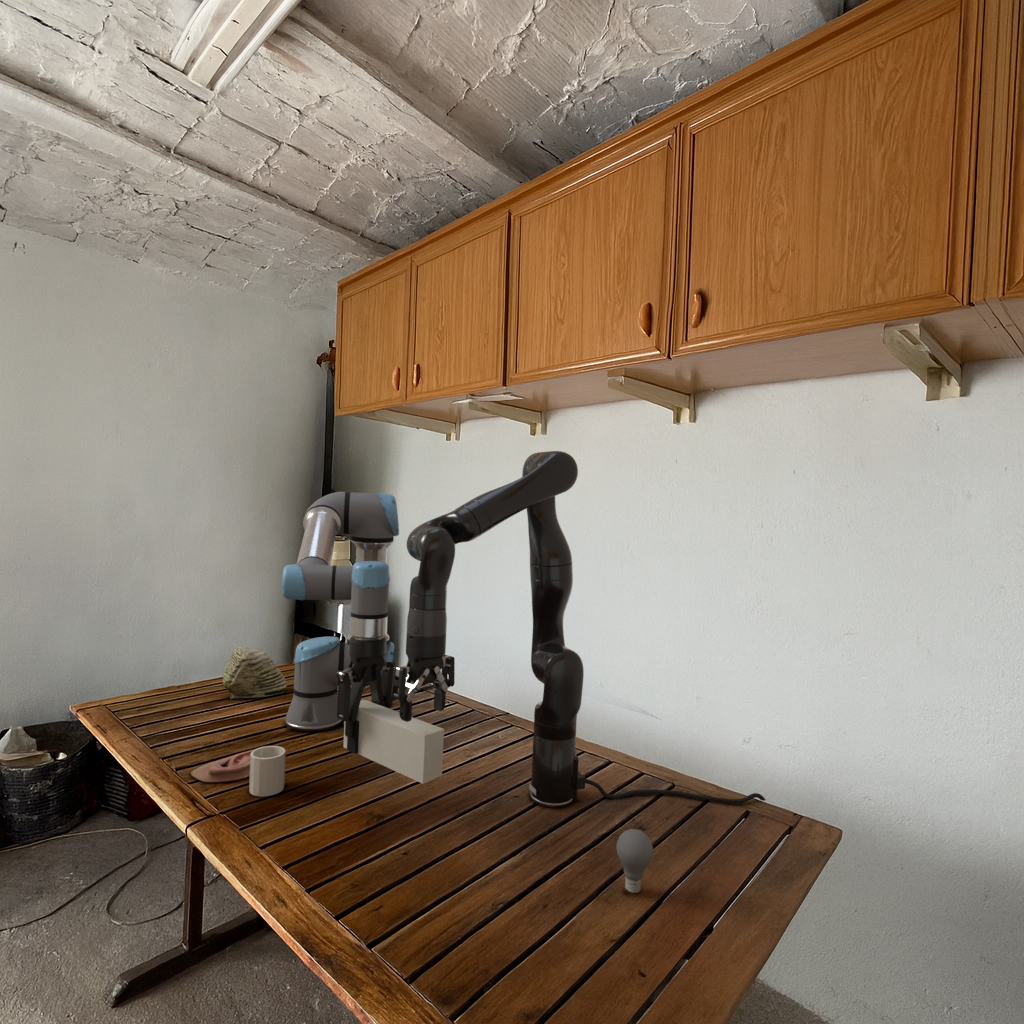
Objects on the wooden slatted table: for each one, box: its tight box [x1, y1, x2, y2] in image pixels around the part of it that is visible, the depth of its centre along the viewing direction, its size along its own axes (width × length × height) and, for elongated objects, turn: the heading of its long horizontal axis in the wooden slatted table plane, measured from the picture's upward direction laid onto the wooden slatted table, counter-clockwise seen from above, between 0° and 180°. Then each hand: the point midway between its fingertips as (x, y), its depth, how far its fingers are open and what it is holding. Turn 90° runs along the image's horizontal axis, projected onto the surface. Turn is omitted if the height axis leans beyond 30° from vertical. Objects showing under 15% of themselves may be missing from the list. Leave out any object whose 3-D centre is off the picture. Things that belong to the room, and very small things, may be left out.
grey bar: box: [343, 699, 445, 785], centre depth 126 cm, size 24×5×9 cm, turn 51°
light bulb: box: [615, 828, 654, 894], centre depth 106 cm, size 6×6×10 cm
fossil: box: [222, 646, 288, 699], centre depth 198 cm, size 9×18×15 cm, turn 132°
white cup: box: [248, 745, 287, 797], centre depth 136 cm, size 7×7×8 cm
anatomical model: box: [190, 749, 254, 783], centre depth 143 cm, size 13×4×12 cm
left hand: (363, 747), depth 132 cm, fingers closed on grey bar, 5 cm apart
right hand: (422, 715), depth 121 cm, fingers open, 8 cm apart
